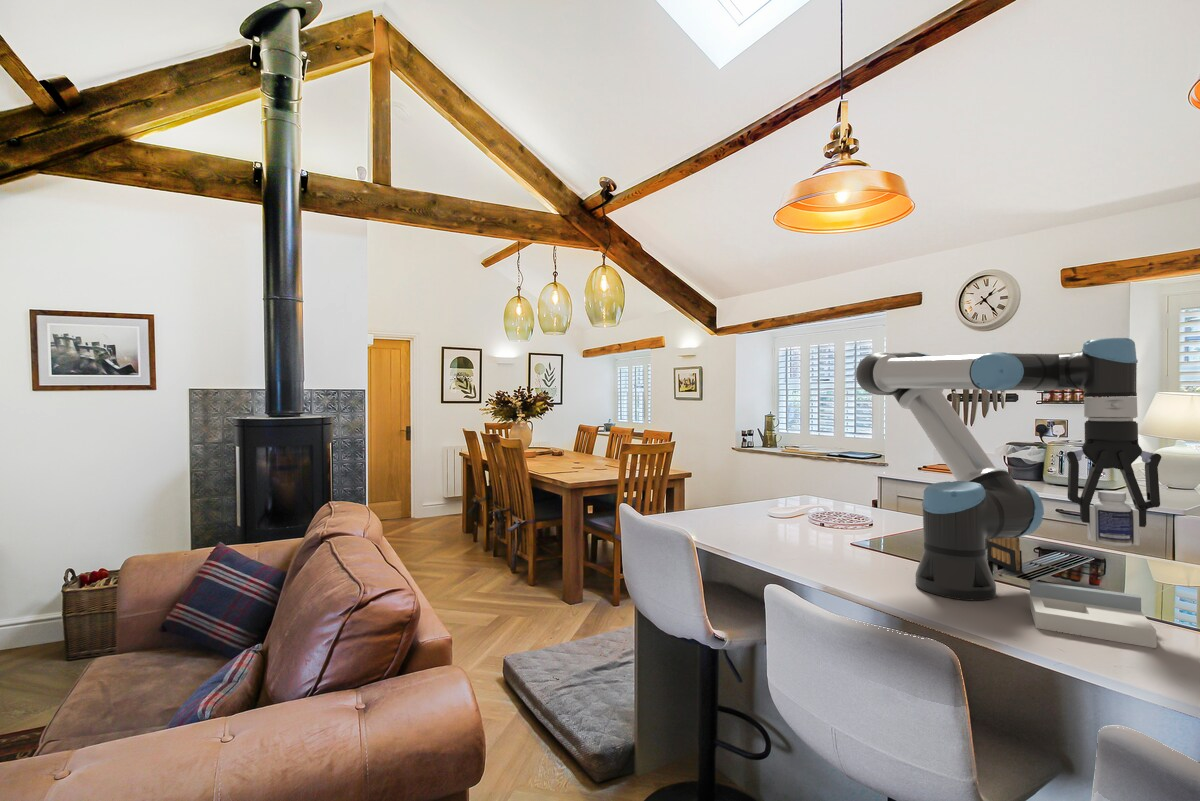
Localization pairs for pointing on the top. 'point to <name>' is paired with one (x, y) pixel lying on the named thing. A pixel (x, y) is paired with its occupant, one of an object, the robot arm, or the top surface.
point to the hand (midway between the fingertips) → (1112, 541)
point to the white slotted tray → (1091, 613)
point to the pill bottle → (1113, 519)
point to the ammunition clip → (1005, 553)
